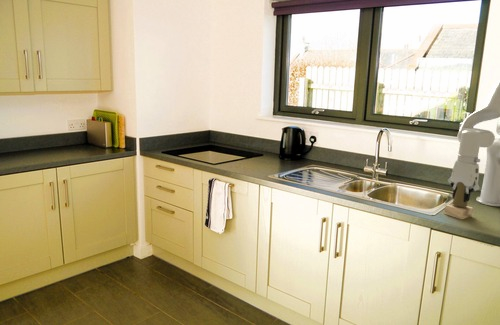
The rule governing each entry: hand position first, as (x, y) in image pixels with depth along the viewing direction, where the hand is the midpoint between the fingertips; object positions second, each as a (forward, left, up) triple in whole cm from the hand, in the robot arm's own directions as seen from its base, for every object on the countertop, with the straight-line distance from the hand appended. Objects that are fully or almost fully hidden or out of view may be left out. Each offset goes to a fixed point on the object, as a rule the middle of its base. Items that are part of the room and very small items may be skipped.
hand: (460, 199), depth 185 cm
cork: (0, 0, -2) cm, 2 cm away
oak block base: (0, 0, -7) cm, 7 cm away
